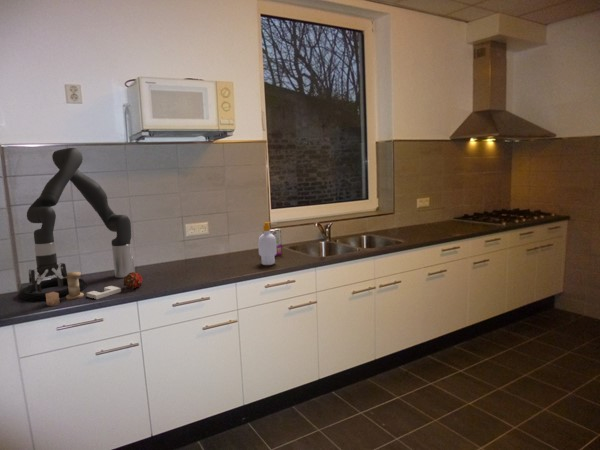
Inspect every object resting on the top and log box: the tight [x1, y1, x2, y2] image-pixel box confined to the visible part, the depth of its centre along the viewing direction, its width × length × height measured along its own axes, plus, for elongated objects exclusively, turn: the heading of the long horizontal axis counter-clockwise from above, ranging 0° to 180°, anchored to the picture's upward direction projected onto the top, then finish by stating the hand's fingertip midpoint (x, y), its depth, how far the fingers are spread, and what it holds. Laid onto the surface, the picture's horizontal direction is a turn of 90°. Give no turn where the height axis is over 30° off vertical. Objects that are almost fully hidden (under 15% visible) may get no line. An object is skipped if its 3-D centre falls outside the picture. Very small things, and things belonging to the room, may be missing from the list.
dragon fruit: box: [122, 271, 144, 290], centre depth 196 cm, size 8×8×12 cm
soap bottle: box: [257, 221, 277, 266], centre depth 231 cm, size 10×10×24 cm
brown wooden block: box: [45, 291, 61, 307], centre depth 175 cm, size 3×4×5 cm
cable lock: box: [18, 276, 87, 302], centre depth 195 cm, size 28×4×30 cm
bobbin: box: [64, 271, 85, 301], centre depth 184 cm, size 7×7×11 cm
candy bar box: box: [262, 228, 283, 257], centre depth 252 cm, size 11×5×16 cm, turn 132°
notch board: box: [86, 285, 122, 300], centre depth 187 cm, size 12×8×2 cm, turn 147°
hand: (50, 289), depth 174 cm, fingers open, 8 cm apart
